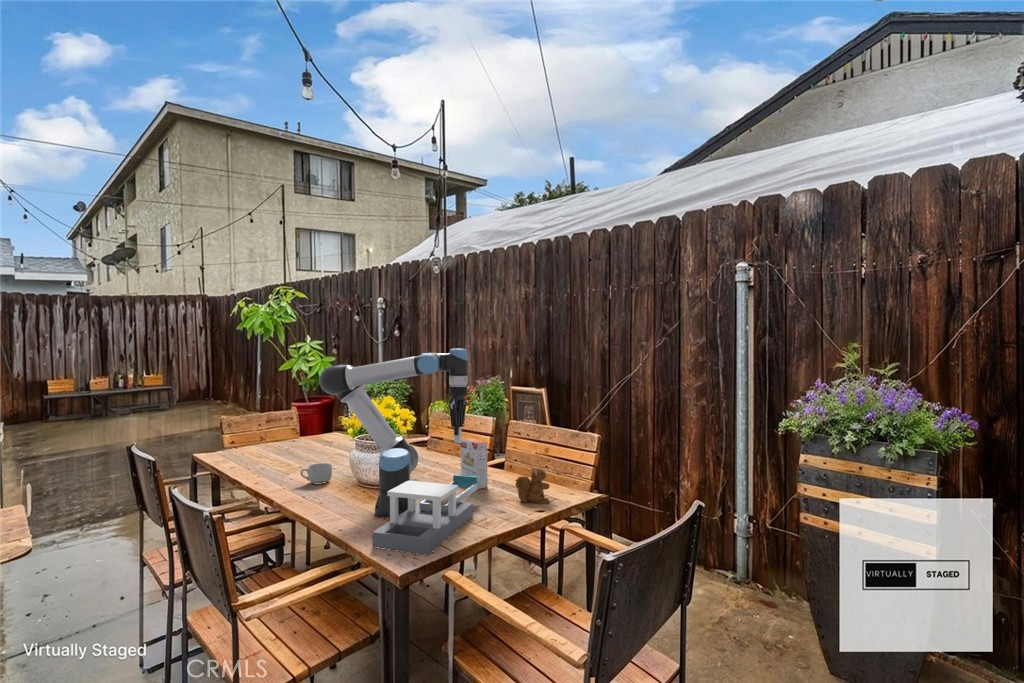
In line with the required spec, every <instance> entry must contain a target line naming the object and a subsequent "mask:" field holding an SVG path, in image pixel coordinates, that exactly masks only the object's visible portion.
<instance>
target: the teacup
mask: <svg viewBox="0 0 1024 683" xmlns="http://www.w3.org/2000/svg"><path fill="white" fill-rule="evenodd" d="M304 472H306V473H307V475H304ZM299 473H300V476H301V477H302V478H303V479H306V481H308V482H310V483H312V484H313V483H323V482H327V481H328V482H329V481H331V479H332V476H333V474H332V473H333V465H332V464H330V463H326V462H323V463H321V462H320V463H312V464H310V465H308V466H307V468H305V467H304V468H302V469H301V470H300V472H299ZM328 482H327V483H328Z"/></svg>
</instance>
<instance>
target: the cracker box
mask: <svg viewBox="0 0 1024 683" xmlns="http://www.w3.org/2000/svg"><path fill="white" fill-rule="evenodd" d="M460 475H464V476H476V477H478V489H479V490H482V488H483V489H487V488H488V442H487V441H483V440H480V439H477V438H474V437H464V438H461V443H460Z"/></svg>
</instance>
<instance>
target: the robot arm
mask: <svg viewBox="0 0 1024 683" xmlns="http://www.w3.org/2000/svg"><path fill="white" fill-rule="evenodd" d="M468 354H469V353H468V349H466V348H450V349H449V352H448V353H442V352H438V353H437V352H425V353H424V352H423V353H421V355H417V356H410V357H405V358H404V357H403V358H399V359H394V360H393V359H392V360H387V361H382V362H376V363H369V364H365V365H358V366H353V365H351V364H348V363H347V364H346V363H341V364H338V365H331V366H328V367H326V368H325V369H323V371H322V372H321V373H320V375H319V379H318V380H319V383H318V384H319V386H320V388H321V390H322V391H323V392H324V393H326V394H327V395H328V394H329V395H332V396H336V397H337V399H338V400H339V401H340V402H341V403H345V404H347V406H348V407H349V408H350V410H351V411H352V413H353V414H354V415H355V417H356V419H358V421H359V422H360V423H361V425H362V426H363V428H364V429H365V430H366V432H367V433H368V434H369V436H370V437H371V439H372V440H373V441H374V443H375V444H376V445H377V447H378V448H379V449H380V452H379V453H380V454H379V456H378V457H379V458H378V479H379V480H378V483H379V484H378V488H379V491H378V496H377V500H376V501H375V502H376V503H375V506H374V515H375V514H376V515H377V517H378V516H380V517H379V518H382V517H384V518H383V519H390V496H387V491H389V490H391V489H393V488H395V487H397V486H399V485H401V484H402V483H404V482H406V481H411V474H412V473H413V471H415V470H416V467H417V466H418V462H419V452H418V451H417V449H416V448H415V447H414V446H413V445H410V444H409V443H408V442H407V440H406V439H405V437H402V436H397V435H396V433H395V432H394V431H393V429H392V428H391V427H390V425H389V424H388V421H387V420H386V419H385V417H384V416H383V414H382V413H381V411H380V410H379V409H378V407H377V406H376V405H375V403H374V402H373V400H372V399H371V398H370V396H369V395H368V394H367V393H366V391H365V389H366V385H372V384H373V385H374V384H377V383H382V382H383V383H384V382H387V381H388V382H390V381H394V380H399V379H404V378H411V377H416V376H423V375H430V374H434V373H436V372H449V373H448V374H449V376H448V377H449V378H448V382H449V383H448V385H449V387H448V393H449V396H450V397H451V403H448V409H449V415H450V425H451V428H453V444H461V439H462V428H463V427H464V426H465V418H466V410H467V404H468V401H466V400H465V396H466V397H467V395H468V386H467V385H468V381H469V377H468V374H469V373H468V370H469V369H468V366H469V357H468ZM406 510H408V498H402V497H398V515H400V514H402V513H403V512H405V511H406ZM376 515H375V516H376Z"/></svg>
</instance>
